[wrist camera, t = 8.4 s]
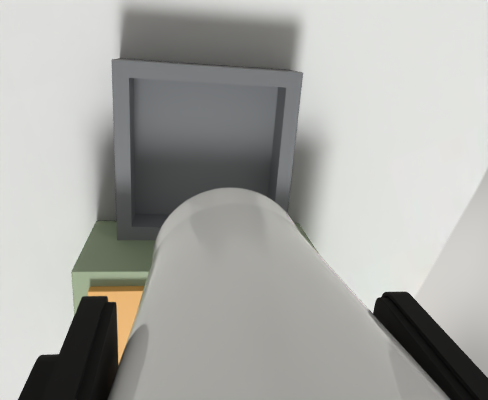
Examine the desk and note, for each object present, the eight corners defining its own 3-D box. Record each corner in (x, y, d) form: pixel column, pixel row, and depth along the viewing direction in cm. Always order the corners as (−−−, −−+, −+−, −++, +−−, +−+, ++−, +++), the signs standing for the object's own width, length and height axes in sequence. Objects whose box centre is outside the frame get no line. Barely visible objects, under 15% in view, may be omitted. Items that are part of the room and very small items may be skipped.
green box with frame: (89, 56, 29) (52, 59, 21) (316, 72, 31) (363, 80, 23) (101, 330, 36) (78, 411, 28) (285, 325, 38) (313, 399, 30)
